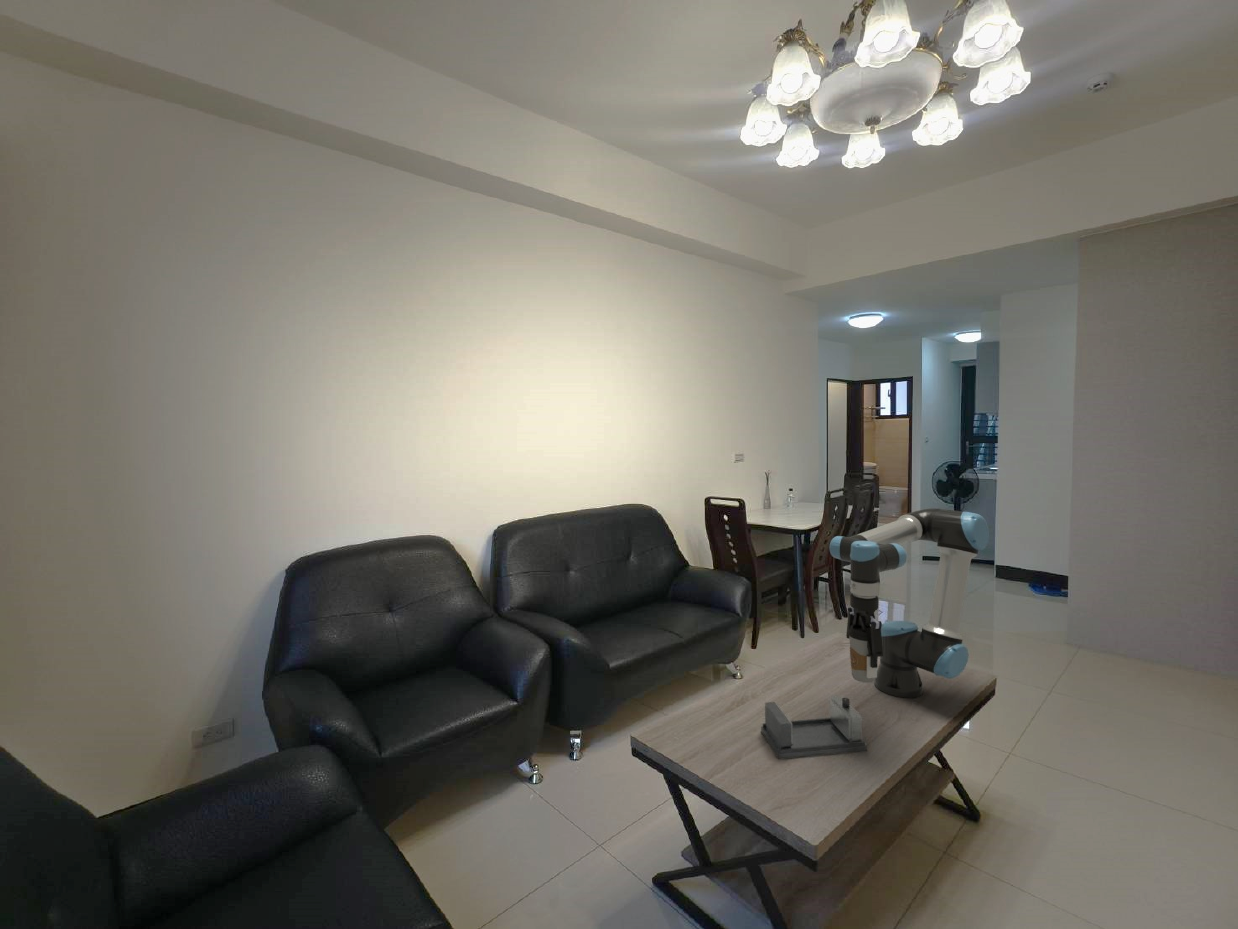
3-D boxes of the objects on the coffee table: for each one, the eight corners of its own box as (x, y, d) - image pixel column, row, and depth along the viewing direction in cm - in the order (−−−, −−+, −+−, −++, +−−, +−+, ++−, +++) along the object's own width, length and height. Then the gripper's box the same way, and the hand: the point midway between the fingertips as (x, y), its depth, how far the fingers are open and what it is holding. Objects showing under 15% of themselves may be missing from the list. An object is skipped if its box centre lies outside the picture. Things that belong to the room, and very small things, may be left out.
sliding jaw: (840, 720, 166) (840, 689, 166) (861, 743, 154) (861, 709, 154) (829, 721, 166) (829, 690, 165) (849, 744, 154) (849, 710, 153)
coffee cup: (842, 672, 162) (843, 624, 161) (869, 671, 163) (869, 622, 162) (857, 685, 154) (858, 634, 153) (885, 683, 155) (885, 632, 154)
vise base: (841, 724, 167) (841, 694, 167) (866, 750, 153) (866, 718, 153) (761, 731, 165) (760, 701, 164) (779, 759, 151) (778, 726, 150)
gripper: (834, 585, 167) (833, 657, 168) (872, 606, 146) (871, 688, 148) (856, 584, 167) (856, 655, 169) (898, 605, 147) (897, 686, 149)
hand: (863, 670), depth 158 cm, fingers closed on coffee cup, 7 cm apart
